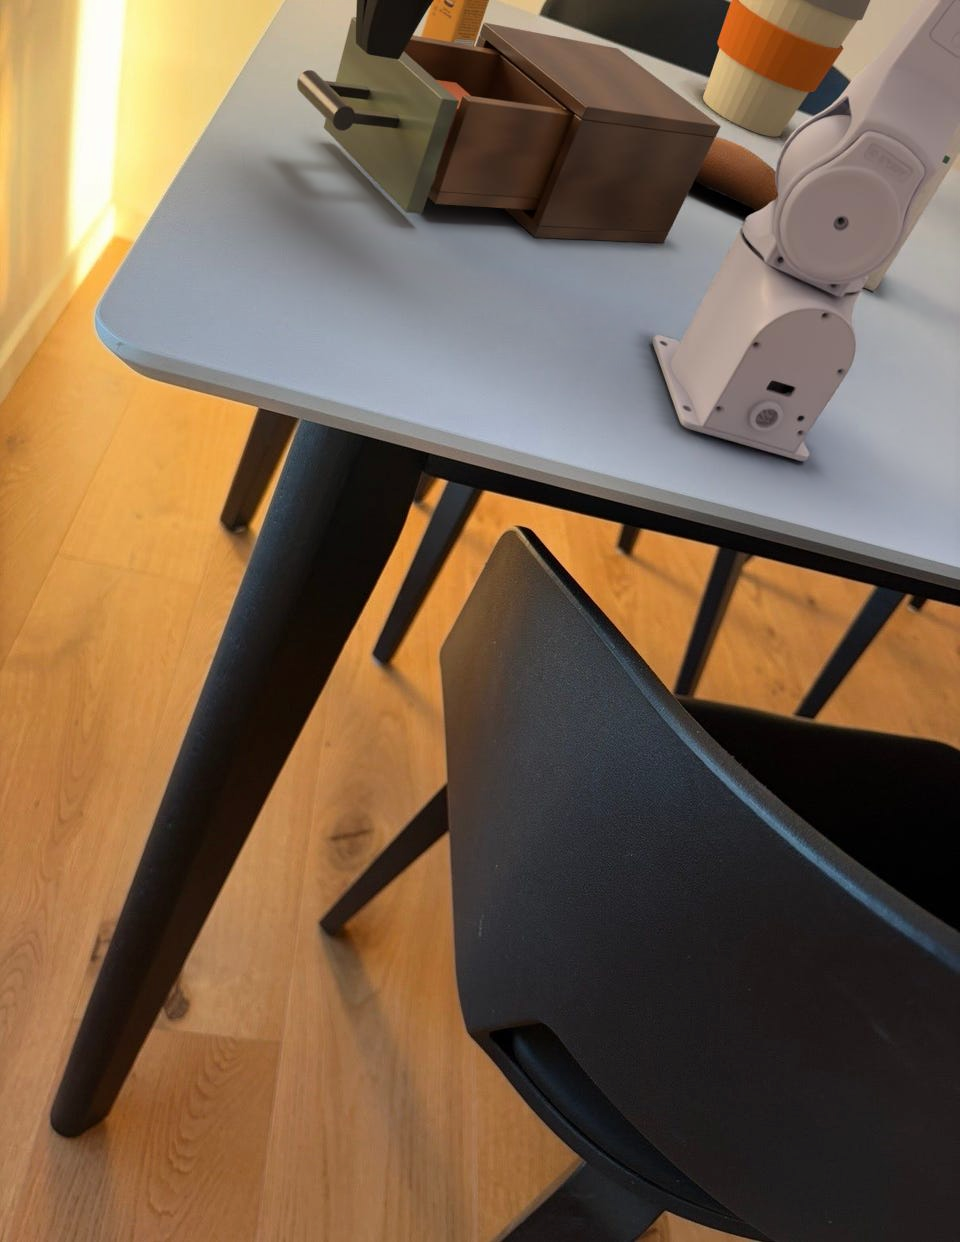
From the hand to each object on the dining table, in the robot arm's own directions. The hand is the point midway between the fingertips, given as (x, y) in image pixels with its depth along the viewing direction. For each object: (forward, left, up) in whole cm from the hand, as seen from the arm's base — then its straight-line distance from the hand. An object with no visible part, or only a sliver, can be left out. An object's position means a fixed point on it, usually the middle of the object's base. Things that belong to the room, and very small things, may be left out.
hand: (377, 51), depth 58 cm
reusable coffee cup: (+55, -42, -10) cm, 69 cm away
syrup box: (+21, -42, -10) cm, 48 cm away
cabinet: (+15, -16, -9) cm, 23 cm away
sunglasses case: (+29, -28, -10) cm, 41 cm away
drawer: (+8, -5, -8) cm, 12 cm away
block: (+8, -5, -7) cm, 12 cm away
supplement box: (+33, -8, -10) cm, 35 cm away
